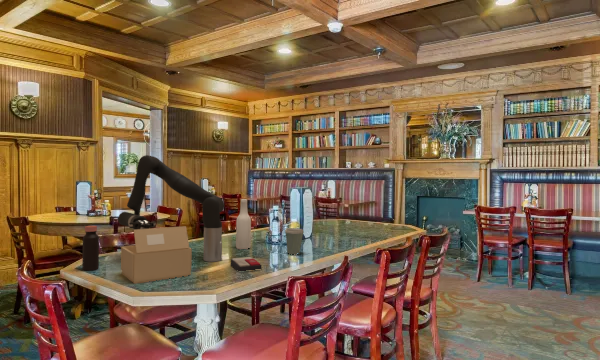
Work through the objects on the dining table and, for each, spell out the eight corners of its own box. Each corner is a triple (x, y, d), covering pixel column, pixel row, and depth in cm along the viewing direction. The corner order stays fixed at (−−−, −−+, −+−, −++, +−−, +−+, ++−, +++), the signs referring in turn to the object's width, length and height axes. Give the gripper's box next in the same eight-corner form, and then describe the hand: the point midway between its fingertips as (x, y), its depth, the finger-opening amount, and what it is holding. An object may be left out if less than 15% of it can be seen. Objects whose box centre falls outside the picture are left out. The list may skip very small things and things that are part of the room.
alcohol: (250, 249, 243) (251, 199, 242) (236, 249, 241) (236, 199, 241) (250, 246, 252) (251, 198, 251) (235, 247, 250) (236, 198, 250)
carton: (175, 266, 196) (175, 241, 196) (191, 275, 180) (192, 248, 180) (120, 273, 181) (120, 246, 181) (133, 283, 165) (133, 254, 165)
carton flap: (185, 226, 183) (186, 226, 182) (188, 248, 179) (189, 247, 179) (133, 230, 169) (134, 229, 169) (136, 253, 166) (136, 252, 165)
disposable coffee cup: (292, 251, 239) (292, 226, 238) (306, 254, 232) (307, 228, 232) (280, 254, 230) (281, 228, 230) (296, 257, 224) (296, 230, 223)
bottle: (90, 271, 184) (90, 227, 183) (78, 270, 186) (79, 226, 186) (102, 268, 190) (102, 225, 190) (91, 267, 192) (91, 225, 192)
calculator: (239, 265, 187) (230, 257, 200) (239, 274, 187) (230, 265, 201) (261, 263, 192) (251, 255, 205) (261, 272, 192) (251, 264, 205)
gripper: (123, 215, 200) (133, 219, 186) (151, 214, 208) (162, 217, 194) (123, 231, 200) (133, 235, 186) (151, 229, 208) (162, 233, 194)
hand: (148, 226), depth 190 cm, fingers closed
